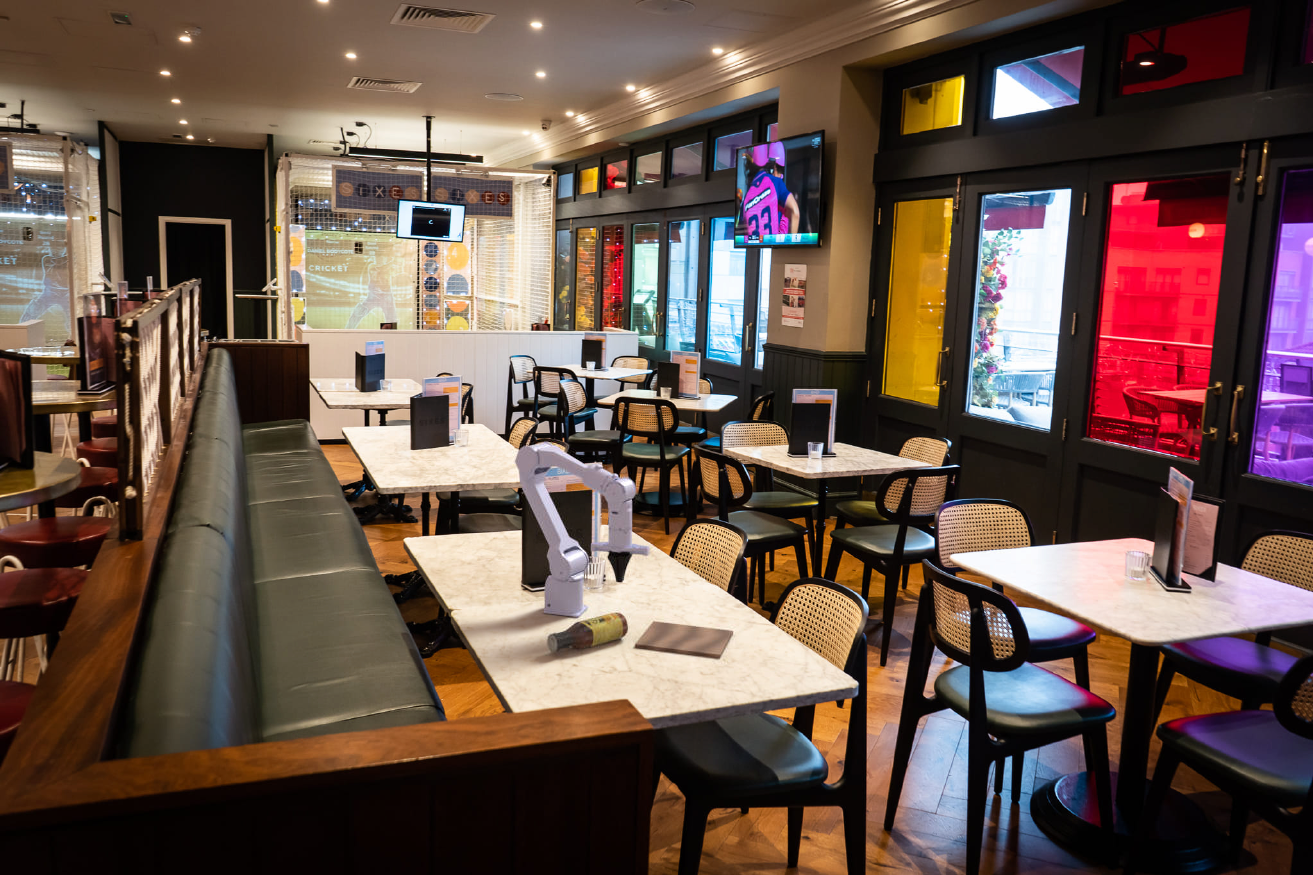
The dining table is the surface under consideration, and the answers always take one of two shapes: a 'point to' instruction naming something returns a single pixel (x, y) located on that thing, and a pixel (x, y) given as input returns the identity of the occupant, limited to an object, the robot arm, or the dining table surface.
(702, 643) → the walnut board
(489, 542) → the dining table surface
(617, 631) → the sauce bottle
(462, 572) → the dining table surface
